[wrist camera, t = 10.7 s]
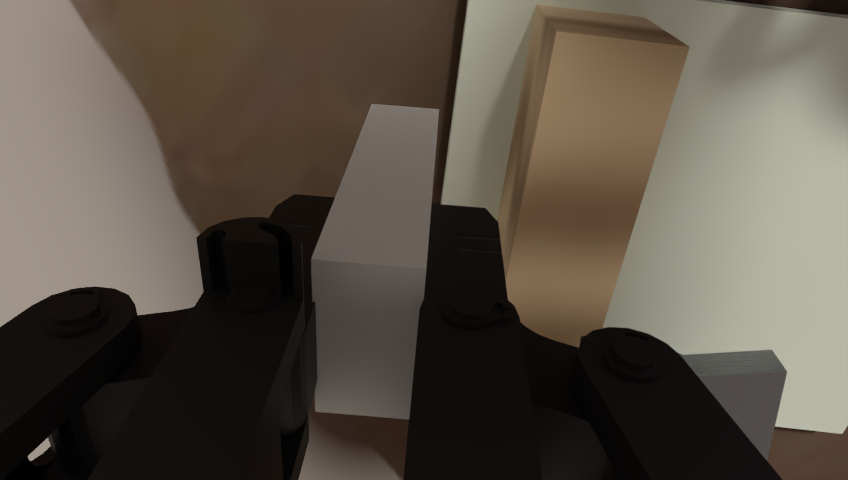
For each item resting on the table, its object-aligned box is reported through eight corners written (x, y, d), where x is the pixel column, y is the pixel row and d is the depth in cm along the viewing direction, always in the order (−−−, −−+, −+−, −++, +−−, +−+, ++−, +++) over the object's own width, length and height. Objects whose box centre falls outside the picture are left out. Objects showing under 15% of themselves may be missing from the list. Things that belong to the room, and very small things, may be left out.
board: (471, -30, 23) (472, -27, 22) (1054, 39, 24) (1082, 46, 23) (418, 372, 33) (417, 387, 32) (830, 416, 33) (842, 433, 32)
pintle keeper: (508, 230, 29) (529, 358, 21) (725, 255, 29) (827, 390, 21) (484, 353, 32) (493, 501, 24) (676, 375, 32) (747, 528, 25)
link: (496, -1, 23) (506, 25, 18) (684, 22, 23) (739, 52, 18) (439, 371, 31) (436, 448, 27) (574, 386, 32) (594, 465, 27)
